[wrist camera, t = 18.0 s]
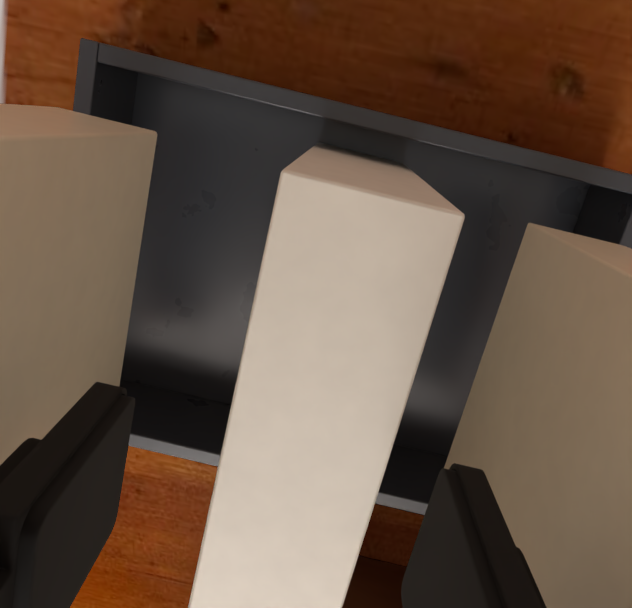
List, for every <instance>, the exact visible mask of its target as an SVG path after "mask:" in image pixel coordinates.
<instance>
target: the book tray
mask: <svg viewBox="0 0 632 608" xmlns="http://www.w3.org/2000/svg"><path fill="white" fill-rule="evenodd" d="M73 111H75V112H79V113H83V114H87V115H91V116H95V117H99V118H103V119H108V120H112V121H116V122H120V123H124V124H128V125H132V126H136V127H140V128H144V129H148V130H152V131H155V132H157V141H156V147H155V154H154V161H153V167H152V174H151V181H150V187H149V194H148V200H147V207H146V214H145V220H144V227H143V234H142V240H141V247H140V253H139V260H138V267H137V273H136V280H135V287H134V293H133V300H132V306H131V313H130V320H129V326H128V333H127V340H126V346H125V353H124V359H123V366H122V373H121V379H120V386H119V387H123V388H126V390H127V396H129V397H133V398H135V407H134V413H133V420H132V426H131V432H130V438H129V444H128V446H132V447H137V448H141V449H145V450H149V451H154V452H158V453H162V454H166V455H171V456H175V457H179V458H183V459H188V460H192V461H196V462H200V463H205V464H209V465H213V466H217V467H218V464H219V460H220V455H221V450H222V446H223V441H224V436H225V432H226V427H227V422H228V418H229V413H230V408H231V403H232V399H233V394H234V389H235V385H236V380H237V375H238V371H239V366H240V361H241V356H242V352H243V347H244V342H245V338H246V333H247V328H248V324H249V319H250V314H251V310H252V305H253V300H254V295H255V291H256V286H257V281H258V277H259V272H260V267H261V263H262V258H263V253H264V249H265V244H266V239H267V234H268V230H269V225H270V220H271V216H272V211H273V206H274V202H275V197H276V192H277V187H278V183H279V178H280V173H281V171H282V170H283V169H284V168H286V167H287V166H288V165H290V164H291V163H292V162H293V161H295V160H296V159H297V158H299V157H300V156H301V155H303V154H304V153H305V152H307V151H308V150H309V149H311V148H312V147H313V146H315V145H316V144H317V143H323V144H327V145H332V146H336V147H340V148H344V149H348V150H352V151H356V152H360V153H364V154H368V155H372V156H376V157H380V158H384V159H388V160H392V161H396V162H400V163H403V164H404V165H406V166H407V167H408V168H409V169H410V170H412V171H413V172H414V173H415V174H416V175H418V176H419V177H420V178H421V179H422V180H424V181H425V182H426V183H427V184H428V185H430V186H431V187H432V188H433V189H434V190H436V191H437V192H438V193H439V194H441V195H442V196H443V197H444V198H445V199H447V200H448V201H449V202H450V203H451V204H453V205H454V206H455V207H456V208H457V209H459V210H460V211H461V212H462V213H463V214H464V216H465V219H464V222H463V225H462V228H461V231H460V234H459V238H458V241H457V244H456V247H455V250H454V254H453V257H452V260H451V263H450V266H449V269H448V273H447V276H446V279H445V282H444V285H443V289H442V292H441V295H440V298H439V301H438V304H437V308H436V311H435V314H434V317H433V320H432V324H431V327H430V330H429V333H428V336H427V339H426V343H425V346H424V349H423V352H422V355H421V359H420V362H419V365H418V368H417V371H416V374H415V378H414V381H413V384H412V387H411V390H410V394H409V397H408V400H407V403H406V406H405V409H404V413H403V416H402V419H401V422H400V425H399V429H398V432H397V435H396V438H395V441H394V444H393V448H392V451H391V454H390V457H389V460H388V464H387V467H386V470H385V473H384V476H383V479H382V483H381V486H380V489H379V492H378V495H377V499H376V502H375V504H379V505H383V506H387V507H391V508H396V509H400V510H404V511H408V512H413V513H417V514H421V515H425V512H426V509H427V506H428V503H429V501H430V498H431V495H432V492H433V489H434V486H435V483H436V480H437V477H438V474H439V472H440V470H441V469H442V468H444V466H445V463H446V461H447V458H448V455H449V452H450V449H451V446H452V443H453V440H454V437H455V434H456V431H457V428H458V426H459V423H460V420H461V417H462V414H463V411H464V408H465V405H466V402H467V399H468V396H469V393H470V391H471V388H472V385H473V382H474V379H475V376H476V373H477V370H478V367H479V364H480V361H481V359H482V356H483V353H484V350H485V347H486V344H487V341H488V338H489V335H490V332H491V329H492V326H493V324H494V321H495V318H496V315H497V312H498V309H499V306H500V303H501V300H502V297H503V294H504V291H505V289H506V286H507V283H508V280H509V277H510V274H511V271H512V268H513V265H514V262H515V259H516V257H517V254H518V251H519V248H520V245H521V242H522V239H523V236H524V233H525V230H526V227H527V225H528V223H533V224H537V225H541V226H545V227H549V228H553V229H557V230H562V231H566V232H570V233H574V234H578V235H582V236H586V237H590V238H594V239H598V240H602V241H607V242H611V243H615V244H619V245H623V246H626V247H628V248H631V249H632V174H628V173H624V172H620V171H616V170H612V169H608V168H604V167H600V166H596V165H592V164H588V163H584V162H580V161H576V160H572V159H567V158H563V157H559V156H555V155H551V154H547V153H543V152H539V151H535V150H531V149H527V148H523V147H519V146H515V145H511V144H507V143H503V142H499V141H495V140H491V139H487V138H483V137H479V136H475V135H471V134H467V133H463V132H459V131H455V130H451V129H447V128H443V127H439V126H435V125H430V124H426V123H422V122H418V121H414V120H410V119H406V118H402V117H398V116H394V115H390V114H386V113H382V112H378V111H374V110H370V109H366V108H362V107H358V106H354V105H350V104H346V103H342V102H338V101H334V100H330V99H326V98H322V97H318V96H314V95H310V94H306V93H302V92H298V91H293V90H289V89H285V88H281V87H277V86H273V85H269V84H265V83H261V82H257V81H253V80H249V79H245V78H241V77H237V76H233V75H229V74H225V73H221V72H217V71H213V70H209V69H205V68H201V67H197V66H193V65H189V64H185V63H181V62H177V61H173V60H169V59H165V58H161V57H156V56H152V55H148V54H144V53H140V52H136V51H132V50H128V49H124V48H120V47H116V46H112V45H108V44H104V43H100V42H96V41H92V40H88V39H84V38H81V40H80V49H79V58H78V68H77V78H76V87H75V97H74V107H73Z"/></svg>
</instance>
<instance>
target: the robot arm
mask: <svg viewBox="0 0 632 608" xmlns="http://www.w3.org/2000/svg"><path fill="white" fill-rule="evenodd" d="M134 407H135V398H133V397H129V396H127V390H126V388H123V387H119V386H114V385H110V384H105V383H101V382H96V383H94V384H93V385H92V387H91V388H90V389H89V390H88V391H87V392H86V393H85V394H84V395H83V396H82V397H81V398H80V399H79V400H78V401H77V402H76V404H75V405H74V406H73V407H72V408H71V409H70V410H69V411H68V412H67V413H66V414H65V415H64V416H63V417H62V418H61V420H60V421H59V422H58V423H57V424H56V425H55V426H54V427H53V428H52V429H51V430H50V431H49V432H48V433H47V434H46V436H45V437H44V438H43V439H42V440H40V439H36V438H28V439H27V440H25V441H24V442H23V443H22V444H21V445H20V446H19V447H18V448H17V449H16V450H15V451H14V452H13V453H12V454H11V455H10V456H9V457H8V458H7V459H6V460H5V461H4V462H3V463H2V464H1V465H0V608H70V606H71V604H72V602H73V601H74V599H75V597H76V595H77V593H78V592H79V590H80V588H81V586H82V584H83V582H84V581H85V579H86V577H87V575H88V573H89V572H90V570H91V568H92V566H93V564H94V563H95V561H96V559H97V557H98V555H99V554H100V552H101V550H102V548H103V546H104V545H105V543H106V541H107V539H108V537H109V536H110V534H111V532H112V529H113V527H114V524H115V521H116V517H117V512H118V506H119V500H120V494H121V488H122V482H123V475H124V469H125V463H126V457H127V451H128V444H129V438H130V432H131V426H132V420H133V413H134ZM401 599H402V606H403V608H547V607H546V605H545V603H544V600H543V598H542V596H541V594H540V591H539V589H538V587H537V584H536V582H535V580H534V577H533V575H532V573H531V571H530V568H529V566H528V564H527V561H526V559H525V557H524V555H523V553H522V551H521V550H520V548H518V547H516V545H515V543H514V541H513V538H512V536H511V534H510V531H509V529H508V527H507V524H506V522H505V520H504V517H503V515H502V513H501V510H500V508H499V506H498V503H497V501H496V499H495V496H494V494H493V491H492V489H491V487H490V484H489V482H488V480H487V477H486V475H485V473H484V471H483V470H482V469H478V468H473V467H469V466H465V465H460V464H456V463H454V464H452V465H451V467H450V468H449V469H445V468H442V469H441V470H440V472H439V474H438V477H437V480H436V483H435V486H434V489H433V492H432V495H431V498H430V501H429V503H428V506H427V509H426V512H425V515H424V518H423V521H422V524H421V527H420V530H419V533H418V536H417V539H416V542H415V544H414V547H413V550H412V553H411V556H410V559H409V562H408V565H407V568H406V571H405V574H404V577H403V581H402V588H401Z"/></svg>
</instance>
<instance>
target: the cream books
mask: <svg viewBox="0 0 632 608" xmlns="http://www.w3.org/2000/svg"><path fill="white" fill-rule="evenodd" d="M156 141H157V132H155V131H152V130H148V129H144V128H140V127H136V126H132V125H128V124H124V123H120V122H116V121H112V120H108V119H103V118H99V117H95V116H91V115H87V114H83V113H79V112H75V111H71V110H67V109H63V108H58V107H46V106H31V105H16V104H0V465H1V464H2V463H3V462H4V461H5V460H6V459H7V458H8V457H9V456H10V455H11V454H12V453H13V452H14V451H15V450H16V449H17V448H18V447H19V446H20V445H21V444H22V443H23V442H24V441H25V440H27V439H28V438H36V439H40V440H42V439H43V438H44V437H45V436H46V434H47V433H48V432H49V431H50V430H51V429H52V428H53V427H54V426H55V425H56V424H57V423H58V422H59V421H60V420H61V418H62V417H63V416H64V415H65V414H66V413H67V412H68V411H69V410H70V409H71V408H72V407H73V406H74V405H75V404H76V402H77V401H78V400H79V399H80V398H81V397H82V396H83V395H84V394H85V393H86V392H87V391H88V390H89V389H90V388H91V387H92V385H93V384H94V383H96V382H101V383H105V384H110V385H114V386H120V379H121V373H122V366H123V359H124V353H125V346H126V340H127V333H128V326H129V320H130V313H131V306H132V300H133V293H134V287H135V280H136V273H137V267H138V260H139V253H140V247H141V240H142V234H143V227H144V220H145V214H146V207H147V200H148V194H149V187H150V181H151V174H152V167H153V161H154V154H155V147H156ZM454 463H456V464H460V465H465V466H469V467H473V468H478V469H482V470H483V471H484V473H485V475H486V477H487V480H488V482H489V484H490V487H491V489H492V491H493V494H494V496H495V499H496V501H497V503H498V506H499V508H500V510H501V513H502V515H503V517H504V520H505V522H506V524H507V527H508V529H509V531H510V534H511V536H512V538H513V541H514V543H515V545H516V547H518V548H520V550H521V551H522V553H523V555H524V557H525V559H526V561H527V564H528V566H529V568H530V571H531V573H532V575H533V577H534V580H535V582H536V584H537V587H538V589H539V591H540V594H541V596H542V598H543V600H544V603H545V605H546V607H547V608H632V249H631V248H628V247H626V246H623V245H619V244H615V243H611V242H607V241H602V240H598V239H594V238H590V237H586V236H582V235H578V234H574V233H570V232H566V231H562V230H557V229H553V228H549V227H545V226H541V225H537V224H533V223H528V225H527V227H526V230H525V233H524V236H523V239H522V242H521V245H520V248H519V251H518V254H517V257H516V259H515V262H514V265H513V268H512V271H511V274H510V277H509V280H508V283H507V286H506V289H505V291H504V294H503V297H502V300H501V303H500V306H499V309H498V312H497V315H496V318H495V321H494V324H493V326H492V329H491V332H490V335H489V338H488V341H487V344H486V347H485V350H484V353H483V356H482V359H481V361H480V364H479V367H478V370H477V373H476V376H475V379H474V382H473V385H472V388H471V391H470V393H469V396H468V399H467V402H466V405H465V408H464V411H463V414H462V417H461V420H460V423H459V426H458V428H457V431H456V434H455V437H454V440H453V443H452V446H451V449H450V452H449V455H448V458H447V461H446V463H445V466H444V468H445V469H449V468H450V467H451V465H452V464H454Z"/></svg>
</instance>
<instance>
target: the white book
mask: <svg viewBox="0 0 632 608" xmlns="http://www.w3.org/2000/svg"><path fill="white" fill-rule="evenodd" d="M464 219H465V216H464V214H463V213H462V212H461V211H460V210H459V209H457V208H456V207H455V206H454V205H453V204H451V203H450V202H449V201H448V200H447V199H445V198H444V197H443V196H442V195H441V194H439V193H438V192H437V191H436V190H434V189H433V188H432V187H431V186H430V185H428V184H427V183H426V182H425V181H424V180H422V179H421V178H420V177H419V176H418V175H416V174H415V173H414V172H413V171H412V170H410V169H409V168H408V167H407V166H406V165H404V164H403V163H400V162H396V161H392V160H388V159H384V158H380V157H376V156H372V155H368V154H364V153H360V152H356V151H352V150H348V149H344V148H340V147H336V146H332V145H327V144H323V143H317V144H316V145H315V146H313V147H312V148H311V149H309V150H308V151H307V152H305V153H304V154H303V155H301V156H300V157H299V158H297V159H296V160H295V161H293V162H292V163H291V164H290V165H288V166H287V167H286V168H284V169H283V170H282V171H281V173H280V178H279V183H278V187H277V192H276V197H275V202H274V206H273V211H272V216H271V220H270V225H269V230H268V234H267V239H266V244H265V249H264V253H263V258H262V263H261V267H260V272H259V277H258V281H257V286H256V291H255V295H254V300H253V305H252V310H251V314H250V319H249V324H248V328H247V333H246V338H245V342H244V347H243V352H242V356H241V361H240V366H239V371H238V375H237V380H236V385H235V389H234V394H233V399H232V403H231V408H230V413H229V418H228V422H227V427H226V432H225V436H224V441H223V446H222V450H221V455H220V460H219V464H218V469H217V474H216V479H215V483H214V488H213V493H212V497H211V502H210V507H209V511H208V516H207V521H206V525H205V530H204V535H203V540H202V544H201V549H200V554H199V558H198V563H197V568H196V572H195V577H194V582H193V587H192V591H191V596H190V601H189V605H188V608H342V607H343V603H344V600H345V597H346V594H347V591H348V588H349V584H350V581H351V578H352V575H353V572H354V569H355V565H356V562H357V559H358V556H359V553H360V549H361V546H362V543H363V540H364V537H365V534H366V530H367V527H368V524H369V521H370V518H371V514H372V511H373V508H374V505H375V502H376V499H377V495H378V492H379V489H380V486H381V483H382V479H383V476H384V473H385V470H386V467H387V464H388V460H389V457H390V454H391V451H392V448H393V444H394V441H395V438H396V435H397V432H398V429H399V425H400V422H401V419H402V416H403V413H404V409H405V406H406V403H407V400H408V397H409V394H410V390H411V387H412V384H413V381H414V378H415V374H416V371H417V368H418V365H419V362H420V359H421V355H422V352H423V349H424V346H425V343H426V339H427V336H428V333H429V330H430V327H431V324H432V320H433V317H434V314H435V311H436V308H437V304H438V301H439V298H440V295H441V292H442V289H443V285H444V282H445V279H446V276H447V273H448V269H449V266H450V263H451V260H452V257H453V254H454V250H455V247H456V244H457V241H458V238H459V234H460V231H461V228H462V225H463V222H464Z"/></svg>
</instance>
